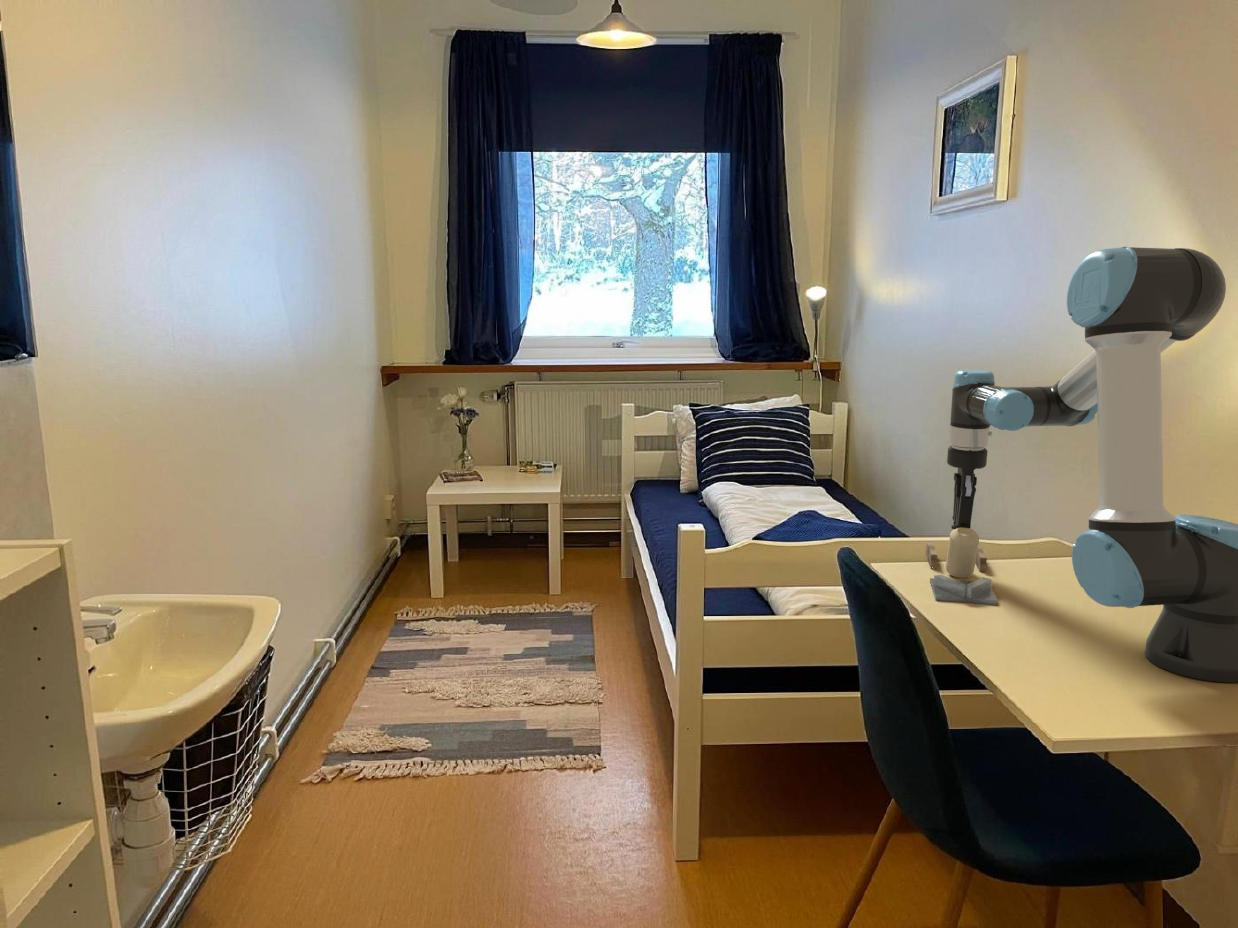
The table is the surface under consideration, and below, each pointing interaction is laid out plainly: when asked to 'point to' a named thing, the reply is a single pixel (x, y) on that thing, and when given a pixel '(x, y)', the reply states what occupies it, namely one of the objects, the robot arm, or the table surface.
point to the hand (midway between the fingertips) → (958, 558)
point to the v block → (963, 590)
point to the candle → (962, 552)
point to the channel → (932, 557)
